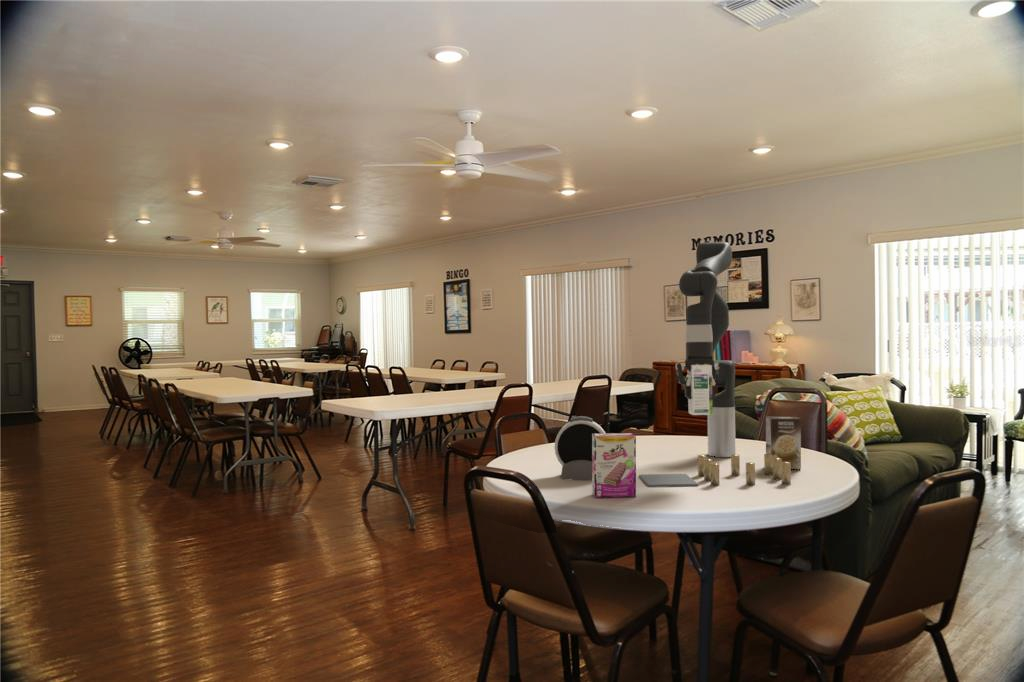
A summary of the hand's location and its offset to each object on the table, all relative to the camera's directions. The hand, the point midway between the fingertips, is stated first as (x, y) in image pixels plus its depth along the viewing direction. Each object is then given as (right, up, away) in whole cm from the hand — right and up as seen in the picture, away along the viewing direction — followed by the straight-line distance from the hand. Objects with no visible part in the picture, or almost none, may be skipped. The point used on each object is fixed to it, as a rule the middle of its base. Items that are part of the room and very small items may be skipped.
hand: (699, 398), depth 196 cm
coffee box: (+31, -24, +16) cm, 42 cm away
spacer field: (+13, -24, +1) cm, 27 cm away
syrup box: (0, -5, 0) cm, 5 cm away
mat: (-9, -24, 0) cm, 26 cm away
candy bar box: (-27, -25, -16) cm, 40 cm away
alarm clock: (-33, -25, +9) cm, 42 cm away
